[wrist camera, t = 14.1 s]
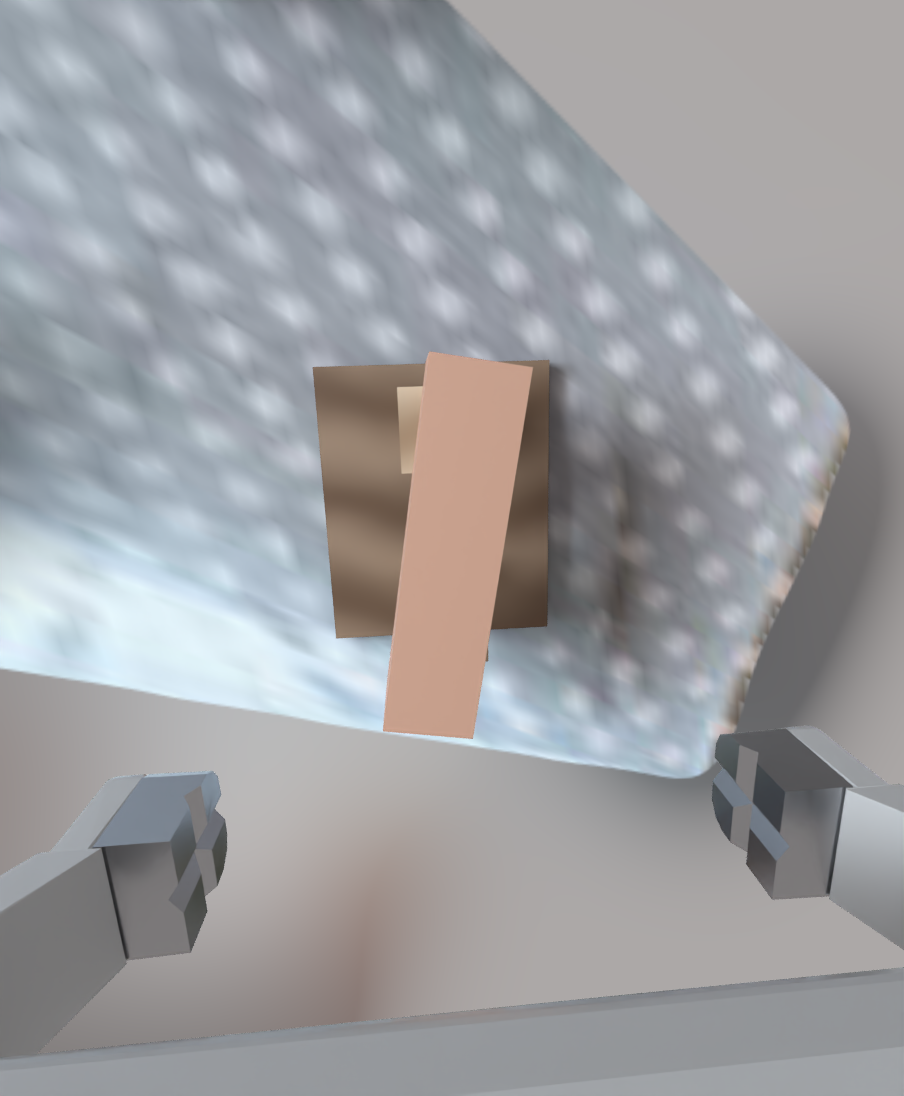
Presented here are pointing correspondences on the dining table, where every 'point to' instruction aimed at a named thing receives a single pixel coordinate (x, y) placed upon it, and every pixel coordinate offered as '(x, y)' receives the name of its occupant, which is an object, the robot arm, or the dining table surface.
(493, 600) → the beam
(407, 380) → the wooden post stand
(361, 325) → the dining table surface
